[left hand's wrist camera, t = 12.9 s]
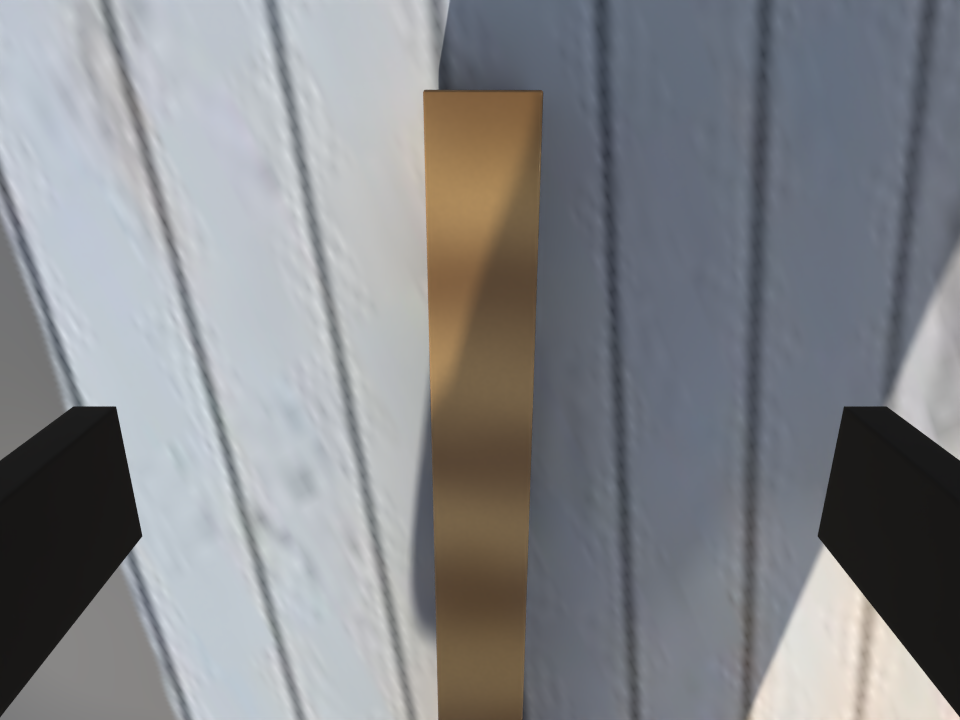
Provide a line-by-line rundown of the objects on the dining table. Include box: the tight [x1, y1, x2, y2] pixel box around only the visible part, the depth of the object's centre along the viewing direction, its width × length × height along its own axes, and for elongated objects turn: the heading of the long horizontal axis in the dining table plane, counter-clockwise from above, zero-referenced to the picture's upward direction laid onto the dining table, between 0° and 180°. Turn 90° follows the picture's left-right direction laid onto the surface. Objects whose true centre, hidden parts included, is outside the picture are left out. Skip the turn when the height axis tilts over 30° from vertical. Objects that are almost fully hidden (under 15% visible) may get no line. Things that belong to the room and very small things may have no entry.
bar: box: [423, 90, 543, 720], centre depth 43 cm, size 68×5×7 cm, turn 0°
